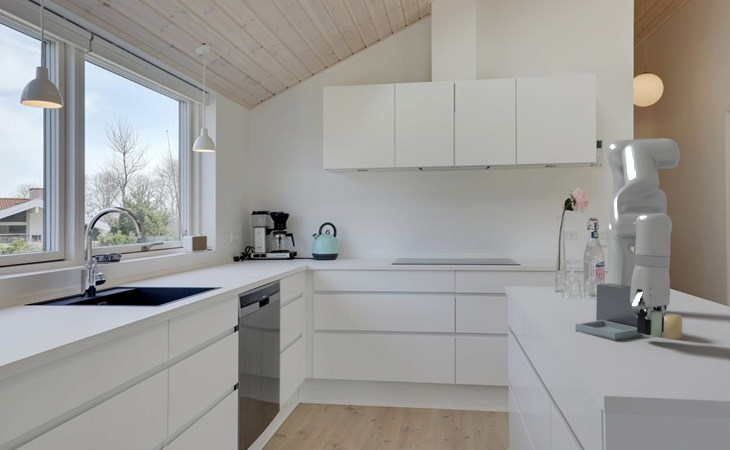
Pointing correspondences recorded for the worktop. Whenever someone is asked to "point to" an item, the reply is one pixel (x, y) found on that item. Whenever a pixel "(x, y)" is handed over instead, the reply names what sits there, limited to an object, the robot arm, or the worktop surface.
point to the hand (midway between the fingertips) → (650, 331)
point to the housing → (615, 304)
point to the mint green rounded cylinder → (655, 323)
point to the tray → (608, 330)
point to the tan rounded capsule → (672, 326)
